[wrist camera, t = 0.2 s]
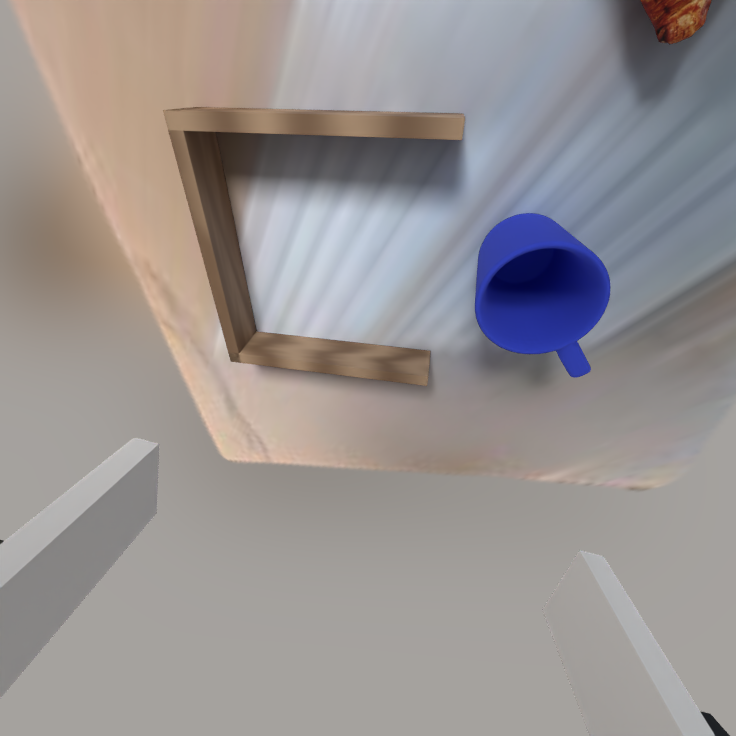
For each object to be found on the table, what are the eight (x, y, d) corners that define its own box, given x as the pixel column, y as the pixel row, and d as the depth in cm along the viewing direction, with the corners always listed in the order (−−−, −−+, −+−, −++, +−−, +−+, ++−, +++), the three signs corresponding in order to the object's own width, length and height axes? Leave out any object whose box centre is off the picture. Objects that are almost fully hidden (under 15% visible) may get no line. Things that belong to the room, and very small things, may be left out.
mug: (515, 337, 37) (532, 405, 29) (452, 239, 33) (452, 288, 25) (603, 296, 33) (650, 361, 25) (545, 177, 29) (580, 213, 21)
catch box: (463, 113, 27) (464, 117, 24) (429, 359, 41) (427, 385, 37) (196, 107, 30) (162, 110, 26) (248, 339, 44) (230, 361, 40)
